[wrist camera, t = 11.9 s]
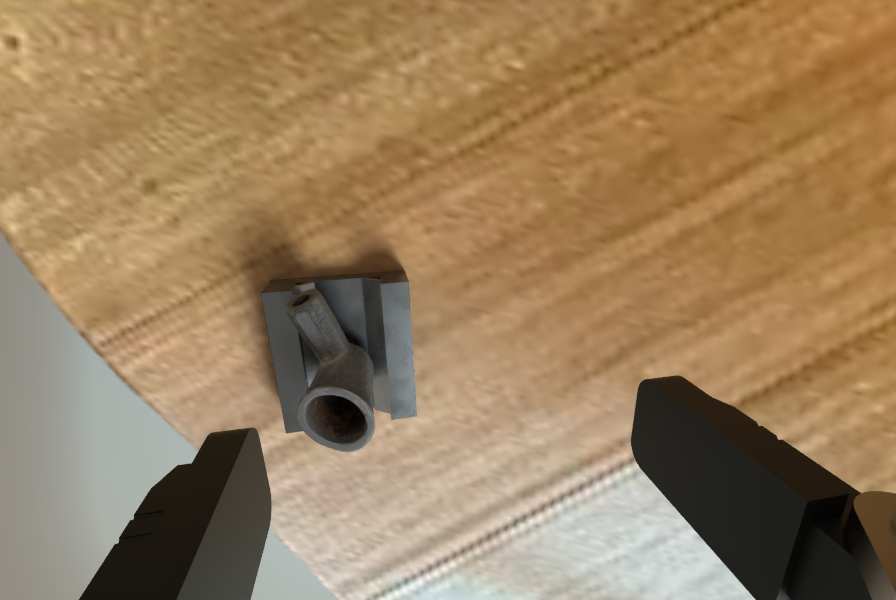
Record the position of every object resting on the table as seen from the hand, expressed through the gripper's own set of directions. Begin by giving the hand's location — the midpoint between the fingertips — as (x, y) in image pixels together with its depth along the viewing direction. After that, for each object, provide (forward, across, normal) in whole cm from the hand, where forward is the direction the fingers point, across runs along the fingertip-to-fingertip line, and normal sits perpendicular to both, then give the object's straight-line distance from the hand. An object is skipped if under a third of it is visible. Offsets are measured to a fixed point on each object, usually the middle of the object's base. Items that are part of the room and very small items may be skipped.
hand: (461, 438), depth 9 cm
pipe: (+31, +6, +11) cm, 33 cm away
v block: (+33, +5, +12) cm, 35 cm away
